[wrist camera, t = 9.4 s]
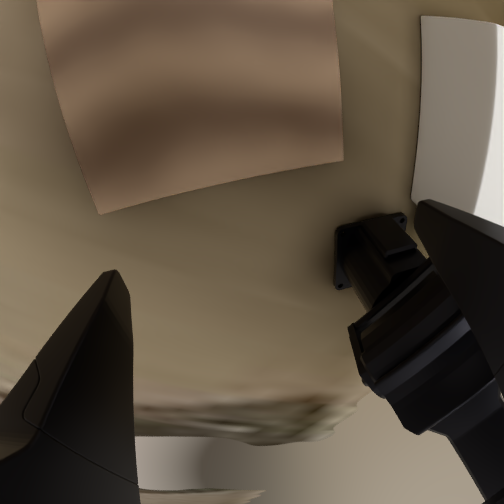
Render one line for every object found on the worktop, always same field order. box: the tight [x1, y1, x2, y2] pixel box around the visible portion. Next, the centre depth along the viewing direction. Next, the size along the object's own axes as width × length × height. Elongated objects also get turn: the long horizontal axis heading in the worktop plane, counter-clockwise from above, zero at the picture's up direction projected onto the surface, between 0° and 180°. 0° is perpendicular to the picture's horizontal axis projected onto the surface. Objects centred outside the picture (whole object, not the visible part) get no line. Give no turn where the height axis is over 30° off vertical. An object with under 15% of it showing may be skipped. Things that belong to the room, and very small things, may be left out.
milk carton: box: [411, 16, 504, 227], centre depth 18 cm, size 7×7×19 cm
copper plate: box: [36, 0, 343, 215], centre depth 13 cm, size 20×16×1 cm
